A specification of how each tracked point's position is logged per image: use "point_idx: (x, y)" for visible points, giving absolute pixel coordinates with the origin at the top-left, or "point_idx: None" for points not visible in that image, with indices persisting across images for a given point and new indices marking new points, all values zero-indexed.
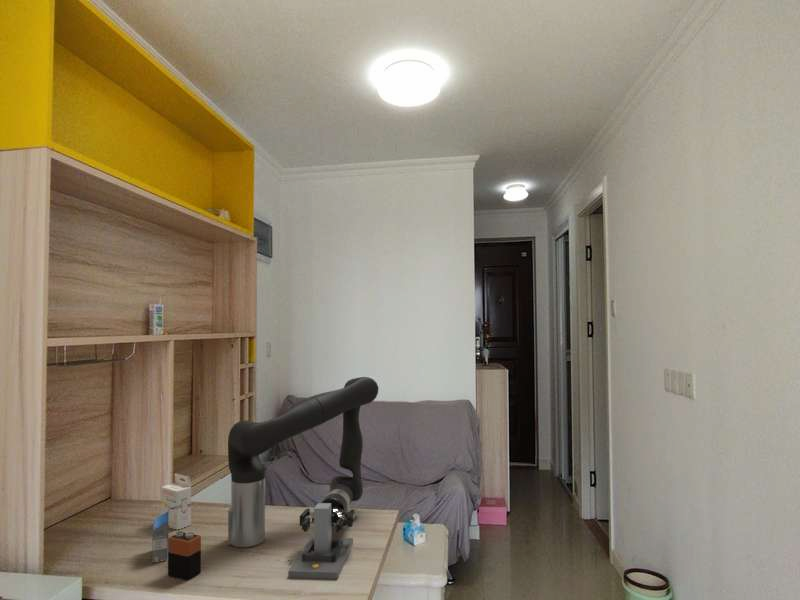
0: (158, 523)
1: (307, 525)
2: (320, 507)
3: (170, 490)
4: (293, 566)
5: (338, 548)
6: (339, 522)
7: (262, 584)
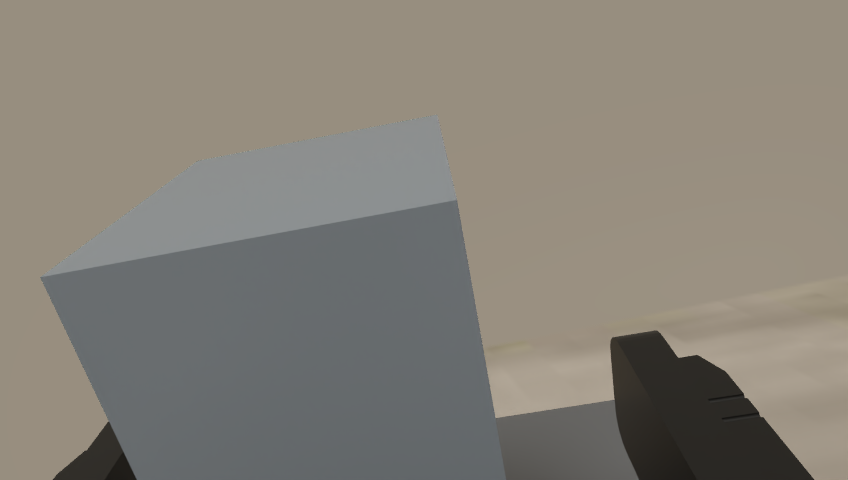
0: None
1: (639, 425)
2: (330, 145)
3: None
4: (625, 454)
5: None
6: (83, 456)
7: (721, 357)
